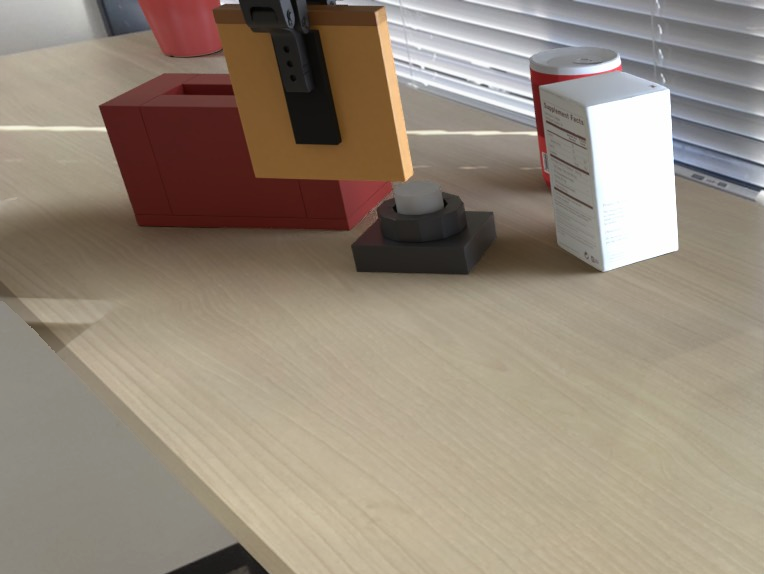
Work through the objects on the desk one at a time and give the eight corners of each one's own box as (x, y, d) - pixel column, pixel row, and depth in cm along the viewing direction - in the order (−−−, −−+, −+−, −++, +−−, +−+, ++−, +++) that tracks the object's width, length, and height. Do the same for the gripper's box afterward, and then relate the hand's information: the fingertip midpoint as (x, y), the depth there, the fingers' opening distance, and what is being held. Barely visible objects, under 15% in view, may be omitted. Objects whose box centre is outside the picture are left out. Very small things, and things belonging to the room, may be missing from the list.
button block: (356, 272, 90) (345, 222, 88) (392, 235, 97) (382, 187, 94) (468, 275, 89) (460, 224, 87) (497, 237, 96) (490, 189, 93)
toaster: (137, 225, 100) (98, 105, 94) (197, 185, 108) (163, 72, 102) (349, 230, 98) (322, 108, 92) (393, 189, 106) (370, 74, 100)
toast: (254, 178, 74) (211, 9, 68) (266, 169, 76) (224, 3, 70) (405, 182, 73) (374, 11, 67) (414, 174, 75) (385, 5, 69)
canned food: (626, 196, 103) (616, 66, 97) (537, 197, 104) (521, 67, 97) (633, 169, 110) (624, 45, 103) (549, 170, 110) (535, 46, 103)
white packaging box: (632, 226, 97) (620, 67, 90) (680, 252, 92) (672, 86, 85) (554, 246, 94) (535, 83, 86) (600, 274, 89) (585, 104, 82)
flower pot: (150, 64, 147) (125, -20, 142) (150, 46, 156) (126, -34, 150) (238, 55, 151) (217, -28, 145) (233, 38, 159) (213, -41, 153)
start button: (390, 218, 90) (386, 195, 89) (406, 202, 93) (402, 180, 91) (435, 219, 89) (431, 196, 88) (450, 203, 92) (446, 181, 91)
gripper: (229, -339, 53) (338, 176, 67) (350, -331, 65) (422, 106, 78) (74, -337, 54) (215, 173, 67) (222, -329, 65) (315, 104, 79)
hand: (326, 136), depth 73 cm, fingers closed on toast, 2 cm apart
